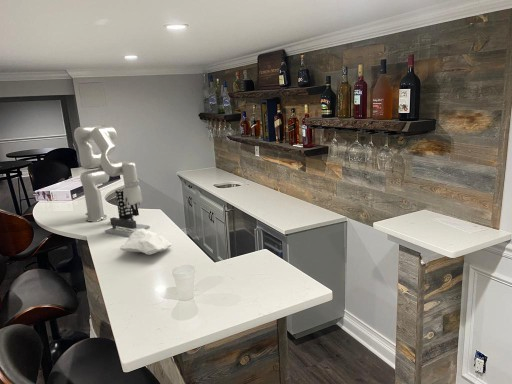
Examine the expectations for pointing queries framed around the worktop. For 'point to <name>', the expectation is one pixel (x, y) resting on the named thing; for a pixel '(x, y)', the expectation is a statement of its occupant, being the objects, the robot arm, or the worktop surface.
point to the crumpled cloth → (145, 242)
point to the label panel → (125, 230)
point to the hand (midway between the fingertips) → (135, 215)
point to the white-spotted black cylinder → (123, 206)
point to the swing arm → (123, 223)
